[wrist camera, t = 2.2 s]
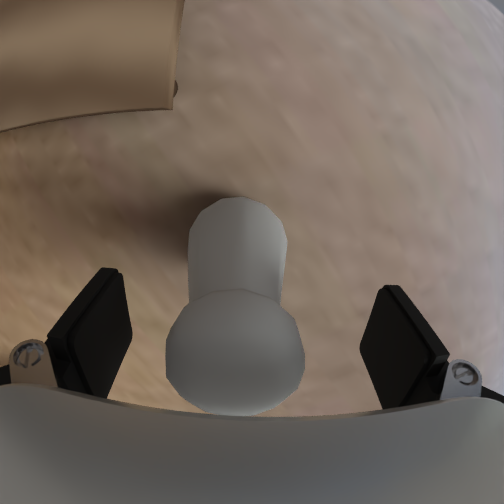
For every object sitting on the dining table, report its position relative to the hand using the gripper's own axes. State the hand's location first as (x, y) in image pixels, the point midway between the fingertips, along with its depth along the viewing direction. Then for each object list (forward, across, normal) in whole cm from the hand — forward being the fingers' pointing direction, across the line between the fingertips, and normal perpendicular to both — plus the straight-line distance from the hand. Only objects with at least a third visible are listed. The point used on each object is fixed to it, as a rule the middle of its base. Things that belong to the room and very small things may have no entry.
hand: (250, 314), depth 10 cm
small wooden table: (+10, +12, -14) cm, 21 cm away
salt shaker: (+10, +1, +1) cm, 10 cm away
